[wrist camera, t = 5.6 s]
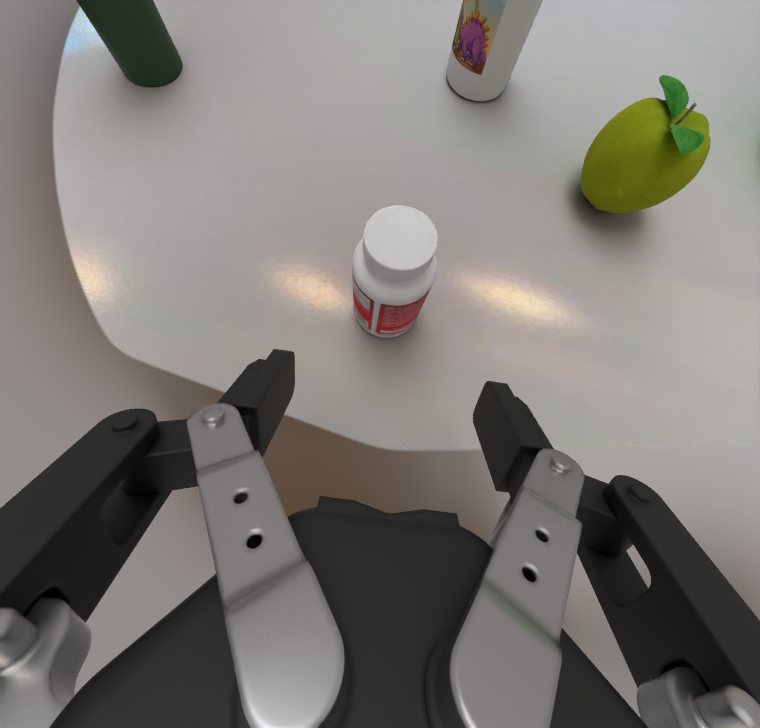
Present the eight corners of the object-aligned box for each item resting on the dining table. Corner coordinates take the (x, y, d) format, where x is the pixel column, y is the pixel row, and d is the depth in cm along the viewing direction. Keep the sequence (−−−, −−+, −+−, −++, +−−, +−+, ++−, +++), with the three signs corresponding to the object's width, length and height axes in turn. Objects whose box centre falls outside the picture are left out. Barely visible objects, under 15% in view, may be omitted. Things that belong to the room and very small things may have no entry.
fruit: (560, 223, 33) (645, 135, 23) (563, 158, 35) (642, 52, 25) (638, 241, 33) (755, 160, 23) (637, 175, 35) (743, 77, 26)
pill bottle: (426, 298, 29) (465, 220, 19) (400, 350, 28) (426, 298, 17) (371, 271, 30) (378, 179, 19) (342, 321, 28) (332, 253, 17)
